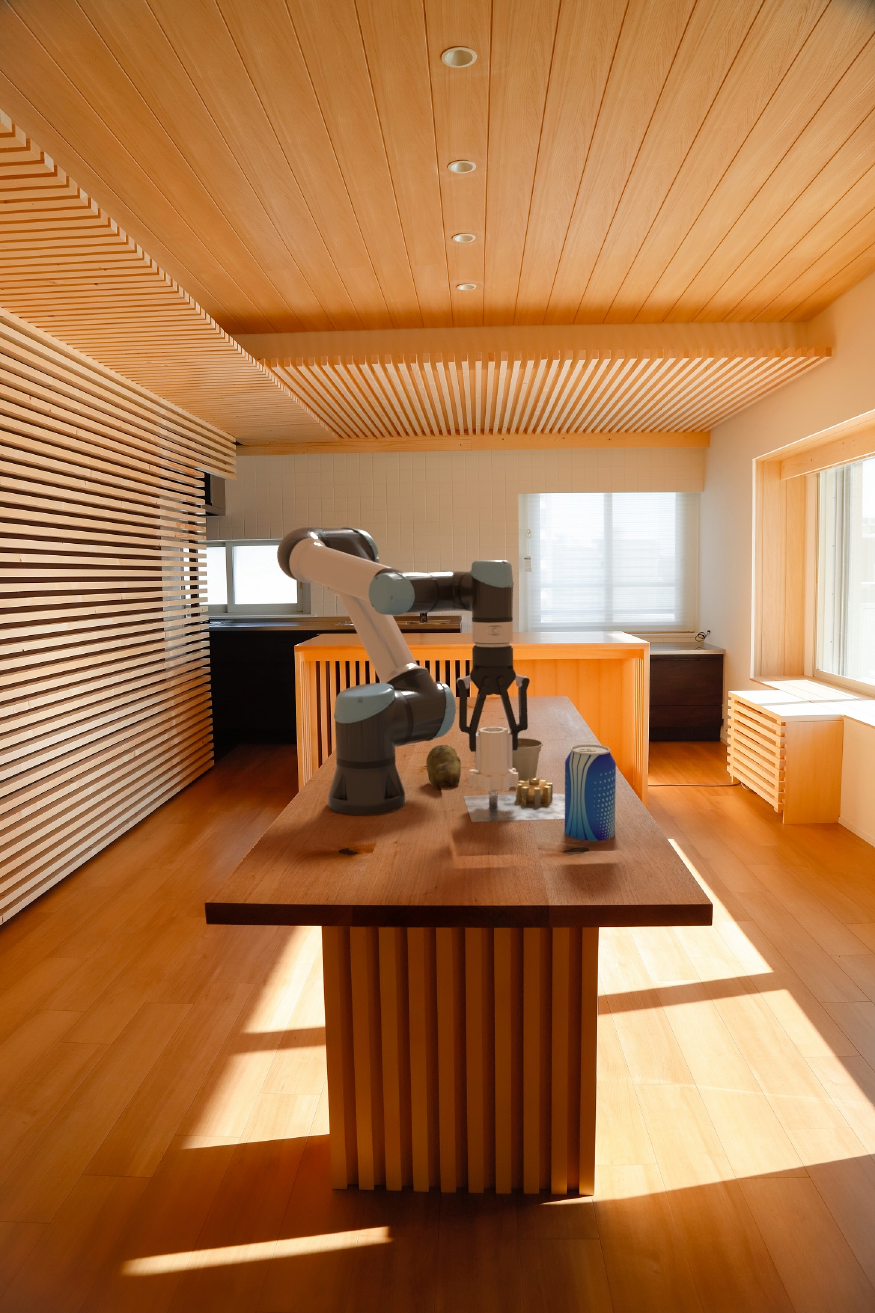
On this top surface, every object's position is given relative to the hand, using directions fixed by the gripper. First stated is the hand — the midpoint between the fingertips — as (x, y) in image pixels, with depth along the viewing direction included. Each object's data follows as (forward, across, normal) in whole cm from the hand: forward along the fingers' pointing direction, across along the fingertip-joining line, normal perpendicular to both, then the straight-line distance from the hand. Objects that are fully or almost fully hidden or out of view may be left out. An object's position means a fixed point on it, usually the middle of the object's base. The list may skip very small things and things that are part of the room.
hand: (493, 767), depth 151 cm
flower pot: (+9, +9, +22) cm, 26 cm away
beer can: (+9, +14, -16) cm, 23 cm away
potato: (+9, -8, +21) cm, 24 cm away
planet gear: (+3, 0, 0) cm, 3 cm away
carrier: (+9, +6, 0) cm, 11 cm away
